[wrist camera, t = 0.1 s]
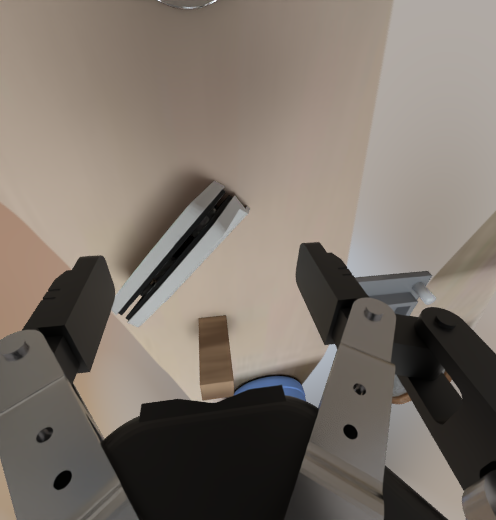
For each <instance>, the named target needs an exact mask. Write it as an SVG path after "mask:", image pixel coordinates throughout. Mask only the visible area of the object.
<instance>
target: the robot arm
mask: <svg viewBox="0 0 496 520" xmlns="http://www.w3.org/2000/svg"><path fill="white" fill-rule="evenodd" d="M157 1H159V2H161V3H163V4H166V5H168V6H171V7H174V8H180V9H185V10H188V9H199V8H202V7H205V6H207V5H210V4H212V3H214V2H215V1H217V0H157ZM296 282H297V286H298V288H299V290H300V292H301V294H302V297H303V299H304V301H305V303H306V305H307V308H308V310H309V312H310V314H311V316H312V318H313V321H314V323H315V325H316V327H317V329H318V332H319V334H320V336H321V338H322V340H323V343H324V345H329V344H335V345H336V347H337V352H336V355H335V358H334V361H333V365H332V368H331V371H330V374H329V377H328V380H327V383H326V386H325V389H324V392H323V395H322V398H321V401H320V404H319V407H318V408H317V407H315V406H314V405H312V404H310V403H308V402H306V401H304V400H301V399H299V398H296V397H292V396H287V395H285V394H284V390H283V387H282V385H276V386H269V387H262V388H254V389H249V390H246V391H244V392H241V393H239V394H237V395H234V396H232V397H229V398H227V399H224V400H222V401H220V402H217V403H207V402H199V401H191V400H183V399H174V400H167V401H160V402H152V403H146V404H142V405H141V412H140V416H138V417H136V418H134V419H132V420H130V421H128V422H127V423H125V424H123V425H122V426H120V427H119V428H117V429H116V430H115V431H114V432H112V433H111V434H110V435H109V436H107V437H106V438H105V439H104V437H103V435H102V434H101V432H100V430H99V429H98V427H97V425H96V423H95V422H94V420H93V418H92V416H91V414H90V413H89V411H88V409H87V407H86V405H85V403H84V402H83V400H82V398H81V396H80V394H79V392H78V391H77V389H76V387H75V385H74V384H73V381H74V379H75V376H76V374H77V373H85V372H90V370H91V367H92V364H93V362H94V359H95V356H96V353H97V350H98V347H99V344H100V341H101V338H102V335H103V332H104V329H105V326H106V323H107V320H108V318H109V315H110V312H111V309H112V306H113V303H114V300H115V287H114V284H113V281H112V278H111V275H110V272H109V269H108V266H107V263H106V260H105V258H104V257H103V256H85V257H80V258H79V259H78V261H77V262H76V264H75V266H74V267H73V269H72V270H68V271H65V272H64V273H63V274H61V275H60V276H59V277H58V278H56V279H55V280H54V282H53V283H52V285H51V286H50V288H49V289H48V292H47V293H46V294H45V296H44V297H43V300H42V301H41V302H40V303H39V305H38V306H37V308H36V309H35V311H34V312H33V314H32V316H31V317H30V319H29V320H28V322H27V323H26V325H25V326H24V328H23V329H22V331H19V332H16V333H13V334H10V335H8V336H6V337H4V338H3V339H1V340H0V459H1V463H2V466H3V470H4V474H5V478H6V481H7V485H8V489H9V492H10V496H11V500H12V504H13V507H14V511H15V515H16V518H17V520H448V519H447V518H446V517H444V516H443V515H442V514H441V513H440V512H438V510H436V509H435V508H434V507H433V506H432V505H431V504H429V503H428V502H427V501H426V500H425V499H424V498H422V497H421V496H420V495H419V494H418V493H416V492H415V491H414V490H413V489H412V488H411V487H410V486H408V485H407V484H406V483H405V482H404V481H403V480H402V479H400V478H399V477H398V476H397V475H396V474H395V473H393V472H392V471H391V470H390V469H389V468H387V467H386V466H385V458H386V450H387V441H388V432H389V422H390V413H391V404H392V396H393V387H394V378H395V375H397V376H398V378H399V380H400V381H401V383H402V385H403V386H404V388H405V390H406V392H407V393H408V395H409V397H410V399H411V400H412V402H413V404H414V405H415V407H416V409H417V411H418V412H419V414H420V416H421V417H422V419H423V421H424V423H425V424H426V426H427V428H428V430H429V431H430V433H431V435H432V436H433V438H434V440H435V442H436V443H437V445H438V447H439V449H440V450H441V452H442V454H443V456H444V457H445V459H446V460H447V462H448V464H449V466H450V468H451V469H452V471H453V473H454V475H455V476H456V478H457V480H458V481H459V483H460V485H461V487H462V488H463V490H464V493H463V496H462V506H463V511H464V514H465V517H466V520H496V354H495V353H494V352H493V351H492V350H491V349H490V348H489V347H488V345H486V343H485V342H483V340H482V339H481V338H480V337H479V336H478V335H477V334H476V333H475V332H474V331H473V330H472V329H471V328H470V327H469V326H468V325H467V324H466V323H465V322H464V321H463V320H462V319H461V318H460V317H459V316H457V315H456V314H454V313H452V312H450V311H448V310H445V309H441V308H436V307H429V308H425V309H424V310H423V311H422V312H421V314H420V316H419V317H413V316H406V315H400V314H395V313H394V311H393V310H392V309H391V308H390V307H389V306H388V305H387V304H385V303H384V302H382V301H380V300H377V299H373V298H369V296H368V295H367V293H366V292H365V291H364V289H363V288H362V287H361V285H360V284H359V283H358V281H357V280H356V279H355V277H354V276H353V275H352V273H351V272H350V271H349V269H347V266H346V265H345V264H344V262H343V261H342V260H341V259H340V258H339V257H337V256H336V255H334V254H333V253H327V252H326V251H325V249H324V248H323V246H322V245H321V244H320V243H319V242H314V243H302V244H301V245H300V249H299V255H298V261H297V267H296ZM444 369H445V371H446V372H447V373H448V375H449V376H450V377H451V379H452V380H453V381H454V383H455V384H456V385H457V387H458V388H459V390H460V392H461V394H462V398H461V397H460V395H459V394H458V393H457V391H456V390H455V389H454V387H453V386H452V384H451V383H450V382H449V380H448V379H447V378H446V376H445V375H444V374H443V372H442V371H443V370H444Z"/></svg>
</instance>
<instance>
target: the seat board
mask: <svg viewBox="0 0 496 520" xmlns="http://www.w3.org/2000/svg"><path fill="white" fill-rule="evenodd" d="M431 276H432V275H431V274H430V273H429V272H428V271H422V272H411V273H400V274H390V275H378V276H368V277H357V278H355V279H356V280H357V281H358V283H359V284H360V285H361V287H362V288H363V289H364V291H365V292H366V293H367V295H368V296H369V298H373V299H377V300H380V301H382V302H384V303H385V304H387V305H388V306H389V307H390V308H391V309H392V310H393V311H394V313H395V314H400V315H406V316H410V314H411V312H412V311H413V309H414V308H415V306H416V304H417V303H418V301H417V299H418V298H419V297H420V298H421V300H422V301H423V302H424V303H425V304H427V305H428V304H431V303H433V302H434V301H435V300H436V297H435V296H434V295H433V294H432V293H431V292H430V291H429V290H428V289H427V288H426V285H427V283H428V282H429V280H430V278H431Z"/></svg>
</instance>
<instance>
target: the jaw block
mask: <svg viewBox="0 0 496 520" xmlns="http://www.w3.org/2000/svg"><path fill="white" fill-rule="evenodd" d="M199 361H200V388H201V394H202V400H210V399H216V398H223V397H230V396H234V379H233V371H232V362H231V354H230V345H229V337H228V328H227V320H226V316H216V317H207V318H199Z"/></svg>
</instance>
